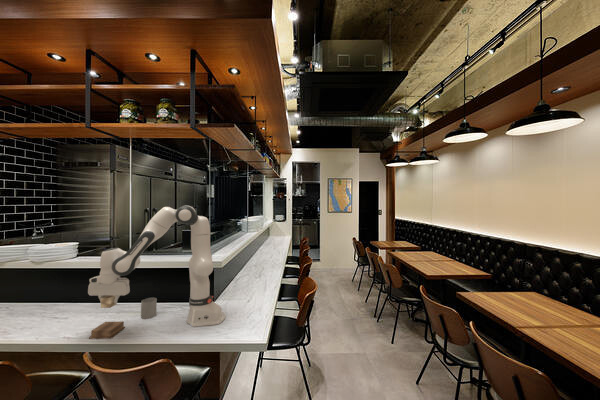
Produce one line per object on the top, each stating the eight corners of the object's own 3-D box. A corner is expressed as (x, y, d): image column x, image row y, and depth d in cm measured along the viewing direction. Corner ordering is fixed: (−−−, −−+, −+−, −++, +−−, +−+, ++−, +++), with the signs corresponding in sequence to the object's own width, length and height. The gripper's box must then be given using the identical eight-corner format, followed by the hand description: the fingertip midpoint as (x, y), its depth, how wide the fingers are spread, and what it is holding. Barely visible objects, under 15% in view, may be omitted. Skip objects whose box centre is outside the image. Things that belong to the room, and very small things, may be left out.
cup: (138, 319, 149) (139, 303, 150) (143, 314, 157) (143, 298, 158) (154, 318, 152) (154, 301, 152) (158, 312, 160) (158, 297, 160)
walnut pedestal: (125, 328, 139) (125, 320, 139) (111, 338, 128) (111, 330, 128) (105, 328, 138) (105, 321, 139) (88, 338, 127) (89, 331, 127)
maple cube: (116, 304, 136) (117, 295, 136) (110, 307, 131) (110, 298, 131) (107, 304, 136) (107, 295, 136) (100, 307, 131) (100, 298, 131)
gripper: (132, 276, 138) (132, 300, 137) (95, 276, 137) (94, 300, 136) (125, 279, 131) (124, 305, 131) (86, 279, 130) (85, 305, 130)
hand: (108, 303), depth 134 cm, fingers closed on maple cube, 5 cm apart
